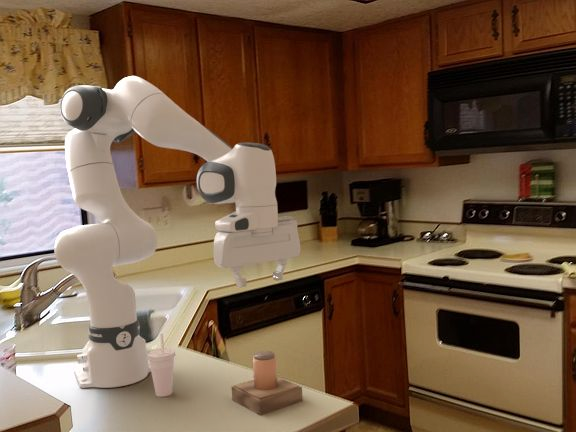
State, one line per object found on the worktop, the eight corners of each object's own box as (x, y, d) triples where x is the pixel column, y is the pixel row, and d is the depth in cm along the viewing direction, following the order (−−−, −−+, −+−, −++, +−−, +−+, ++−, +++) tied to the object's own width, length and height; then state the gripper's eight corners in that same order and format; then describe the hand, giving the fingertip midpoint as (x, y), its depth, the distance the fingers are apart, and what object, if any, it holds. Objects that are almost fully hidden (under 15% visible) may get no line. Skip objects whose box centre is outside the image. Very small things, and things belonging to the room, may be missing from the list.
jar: (249, 385, 133) (248, 354, 132) (268, 379, 135) (267, 349, 135) (262, 391, 128) (260, 359, 128) (281, 386, 131) (280, 354, 131)
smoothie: (165, 400, 135) (161, 339, 134) (143, 396, 138) (139, 336, 137) (183, 390, 141) (179, 331, 140) (162, 387, 144) (158, 329, 143)
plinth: (232, 400, 134) (231, 385, 133) (273, 387, 140) (272, 373, 140) (260, 415, 125) (259, 399, 124) (302, 400, 131) (301, 385, 131)
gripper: (287, 214, 138) (290, 274, 139) (208, 222, 126) (211, 288, 127) (305, 215, 133) (307, 278, 134) (223, 224, 121) (227, 293, 122)
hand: (260, 283), depth 130 cm, fingers open, 8 cm apart
